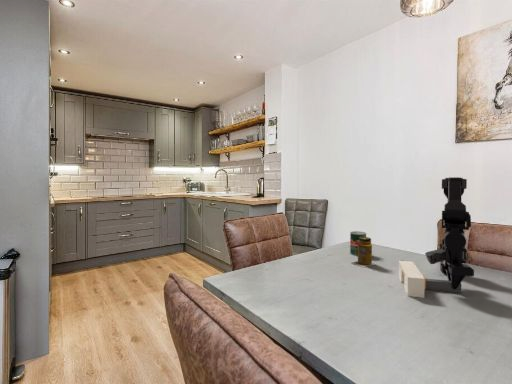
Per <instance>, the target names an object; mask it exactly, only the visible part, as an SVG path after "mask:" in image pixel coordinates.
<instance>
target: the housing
mask: <svg viewBox="0 0 512 384" xmlns="http://www.w3.org/2000/svg"><path fill="white" fill-rule="evenodd" d="M422 275H423V274H422V273H421V271H420V270H419V268H418V267H417V266H416V264H415V262H414V261H409V260H408V261H407V260H406V261H405V260H398V278H399V280H400V282H401V283H404V285H403V287H404V288H403V290H404V291H405V293H406V294H405V295H407V297H414V298H423V299H424V298H425V290H424V289H425V279H424V277H425V276H424V277H423V276H422Z"/></svg>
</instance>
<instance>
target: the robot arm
mask: <svg viewBox="0 0 512 384" xmlns="http://www.w3.org/2000/svg"><path fill="white" fill-rule="evenodd" d="M467 180H468V179H467V178H463V177H461V176H460V177H459V176H458V177H445V178H443V179H441V190H443V195H444V196H445V197H446V199H447V202H446V203H445V204H444V210H441V229H444V237H443V238H442V243H440V244H439V249H434V250H431V251H427V252H425V253H424V254H425V257H426V260H427V261H428V263H429V264H430V265H435V264H437V263H440V265H439V266H440V271H441V273H442V274H443V275H444V276H447V280H448V281H451V284H452V288H453V289H457V287H458V286H459V284H460V283H461V284H462V282H463V280H464V279H465V277H475V270H474V269H473V268H472V267H471V266H470V265H468V264H467V256H468V249H467V248H466V245H467V239H466V236H465V231H469V230H470V228H471V227H472V218H471V214H470V212H469V211H467V206H466V204H464V203H463V202H462V197H463V195H464V193H465V190H466V189H467V188H468V185H467V184H468V183H467V182H468V181H467Z"/></svg>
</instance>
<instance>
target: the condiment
mask: <svg viewBox="0 0 512 384" xmlns="http://www.w3.org/2000/svg"><path fill="white" fill-rule="evenodd" d="M372 252H373V244H372V238H371V237H367V236H366V237H360V238H359V243H358V255H357V261H354V262H351V264H353V265H355V266H358V267H363V268H367V267H370V266H371V267H372V266H373V265H375V263H374V262H372V261H373V258H372V257H373V256H372V255H373V253H372Z"/></svg>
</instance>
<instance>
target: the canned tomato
mask: <svg viewBox="0 0 512 384" xmlns="http://www.w3.org/2000/svg"><path fill="white" fill-rule="evenodd" d="M349 233H350V235H349V236H350V239H349V240H350V242H349V243H350V245H349V246H350V247H349V248H350V249H349V254H350V255H353V256H358V243H359V238H360V237H367V233H366V232H365V231H358V230H357V231H350V232H349Z"/></svg>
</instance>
